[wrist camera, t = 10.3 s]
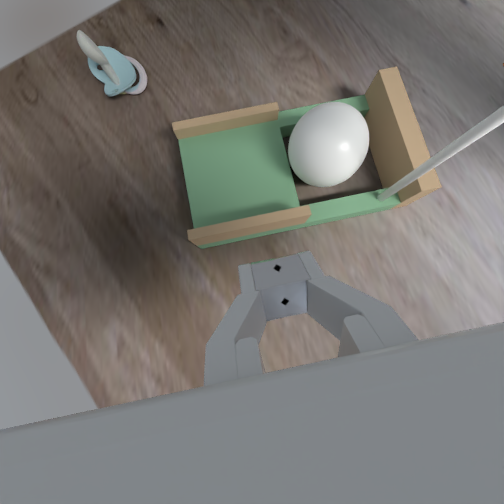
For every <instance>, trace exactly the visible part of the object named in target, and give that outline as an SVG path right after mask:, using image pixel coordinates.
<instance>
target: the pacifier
mask: <svg viewBox="0 0 504 504" xmlns="http://www.w3.org/2000/svg"><path fill="white" fill-rule="evenodd" d="M77 40H78V43H79V45H80V47H81V49H82V50H83V52H84V53H85V54H86V55H87V56H88V65H89V68H90V70H91V72H92V73H93V74H94V76H95V77H96V78H97V79H98V80H100V81H101V82H103V83H105V87H104V91H105V93H106V94H107V95H108V96H115V95H118V94H127V93H128V94H132V95H133V94H139V93H141V92H143V91H144V90H145V88H146V86H147V75H146V72H145V70H144V68H143V67H142V65H141V64H140V63H139V62H138V61H136V60H135V59H133V58H131V57H128V56H124V55H122V54H121V53H120V52H118V51H117V50H115V49H113V48H111V47H105V46H96V44H95V43H94V42H93V41H92V40H91V39H90V38H89V37H88V36H87V35H86V34H85V33H83V32H82V31H81V30H78V32H77ZM98 65H100V66H101V67H102V68H103V70H98V69H97V66H98ZM133 67H134V68H135V69H137V71H138V72H139V75H140V80H139V83H138V84H137V85H136V86H134V87H131V86H132V84H133V83H134V82H135V80H136V72H135V69H134V68H133Z"/></svg>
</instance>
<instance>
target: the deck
mask: <svg viewBox="0 0 504 504" xmlns="http://www.w3.org/2000/svg"><path fill="white" fill-rule="evenodd" d="M503 66H504V63H503ZM330 102H342V103H346V104H348V105H351V106H352V107H354V108H355V109H357V110H358V111H359V112H360V113H361V115H362V116H363V117H364V119H365V121H366V123H367V126H368V130H369V147H370V150H371V153H372V156H373V159H374V162H375V165H376V168H377V171H378V174H379V177H380V181H381V184H382V187H383V189H380V190H375V191H370V192H366V193H361V194H356V195H351V196H346V197H342V198H337V199H332V200H327V201H323V202H318V203H313V204H308V205H303V206H300V204H299V200H298V196H297V193H296V189H295V185H294V181H293V177H292V173H291V169H290V166H289V162H288V158H287V154H286V150H285V146H284V142H283V139H282V138H283V137H288V136H291V133H292V131H293V129H294V127H295V125H296V124H297V122H298V121H299V120H300V119H301V117H302V116H303V115H304V114H305V113H307V112H308V111H309V110H311V109H312V108H314V107H316V106H318V105H320V104H323V103H320V104H315V105H310V106H305V107H300V108H295V109H290V110H285V111H280V112H279V107H278V104H277V102H274V103H269V104H264V105H259V106H253V107H248V108H243V109H238V110H233V111H228V112H223V113H218V114H213V115H208V116H203V117H198V118H193V119H188V120H183V121H178V122H173V123H172V125H173V131H174V133H175V135H176V136H177V138H178V141H179V147H180V153H181V158H182V164H183V170H184V175H185V181H186V187H187V192H188V198H189V204H190V209H191V215H192V221H193V226H194V229H190V230H187V234H188V240H189V241H190V242H192V243H193V244H195V245H196V246H198V247H199V248H201V249H203V248H208V247H213V246H218V245H222V244H227V243H232V242H237V241H241V240H246V239H251V238H256V237H260V236H265V235H270V234H274V233H279V232H284V231H289V230H293V229H298V228H303V227H308V226H312V225H317V224H322V223H327V222H331V221H336V220H341V219H346V218H350V217H355V216H360V215H364V214H369V213H374V212H379V211H383V210H388V209H393V208H398V207H402V206H406V205H408V204H410V203H412V202H414V201H416V200H418V199H420V198H422V197H424V196H426V195H427V194H429V193H431V192H433V191H435V190H437V189H439V188H441V184H440V181H439V179H438V176H437V173H436V170H435V167H436V166H438V165H439V164H441V163H442V162H444V161H445V160H447V159H448V158H450V157H451V156H453V155H455V154H456V153H458V152H459V151H461V150H462V149H464V148H465V147H467V146H468V145H470V144H471V143H473V142H475V141H476V140H478V139H479V138H481V137H482V136H484V135H485V134H487V133H488V132H490V131H491V130H493V129H494V128H496V127H498V126H499V125H501V124H502V123H504V105H503V106H502V107H500V108H499V109H498V110H496V111H495V112H494V113H492V114H491V115H489V116H488V117H487V118H485V119H484V120H482V121H481V122H480V123H478V124H477V125H475V126H474V127H473V128H471V129H470V130H469V131H467V132H466V133H464V134H463V135H462V136H460V137H459V138H457V139H456V140H455V141H453V142H452V143H451V144H449V145H448V146H446V147H445V148H444V149H442V150H441V151H439V152H438V153H437V154H435V155H434V156H432V157H430V154H429V152H428V149H427V146H426V143H425V141H424V138H423V135H422V133H421V130H420V127H419V124H418V122H417V119H416V116H415V114H414V111H413V108H412V106H411V103H410V100H409V97H408V95H407V92H406V89H405V87H404V84H403V81H402V78H401V76H400V73H399V70H398V68H397V67H392V68H387V69H382V70H379V71H378V73H377V74H376V76H375V78H374V80H373V81H372V83H371V85H370V86H369V88H368V90H367V92H366V93H365V95H360V96H355V97H350V98H345V99H340V100H335V101H330ZM325 103H327V102H325Z"/></svg>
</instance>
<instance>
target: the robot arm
mask: <svg viewBox="0 0 504 504" xmlns="http://www.w3.org/2000/svg"><path fill="white" fill-rule="evenodd" d="M238 270H239V279H240V287H241V294H240V295H237V297H236V298H235V300H234V302H233V303H232V305H231V306H230V308H229V310H228V311H227V313H226V314H225V316H224V317H223V319H222V321H221V322H220V324H219V325H218V327H217V329H216V330H215V332H214V333H213V335H212V336H211V338H210V340H209V341H208V343H207V344H206V353H205V372H204V386H203V387H198V388H194V389H189V390H184V391H179V392H175V393H170V394H165V395H161V396H156V397H151V398H147V399H142V400H137V401H133V402H128V403H123V404H119V405H114V406H109V407H105V408H100V409H95V410H91V411H86V412H81V413H76V414H72V415H67V416H63V417H58V418H53V419H48V420H44V421H39V422H34V423H29V424H25V425H20V426H15V427H11V428H6V429H1V430H0V504H504V322H502V323H497V324H493V325H488V326H483V327H479V328H474V329H469V330H465V331H460V332H455V333H451V334H446V335H441V336H437V337H432V338H427V339H423V340H418V339H417V337H416V336H415V335H414V334H413V333H412V331H411V330H410V329H409V328H408V327H407V325H406V324H405V323H404V322H403V320H402V319H401V318H400V317H399V316H398V314H397V313H396V312H395V311H394V310H393V308H392V307H391V306H389V305H387V304H385V303H383V302H381V301H379V300H377V299H375V298H373V297H371V296H369V295H367V294H365V293H363V292H361V291H359V290H357V289H355V288H353V287H351V286H349V285H347V284H345V283H343V282H341V281H339V280H337V279H335V278H333V277H331V276H325V275H324V273H323V271H322V270H321V268H320V266H319V265H318V263H317V262H316V260H315V258H314V257H313V255H312V253H311V252H310V251H305V252H301V253H297V254H293V255H288V256H284V257H279V258H275V259H269V260H264V261H258V262H253V263H251V264H250V263H248V264H243V265H239V266H238ZM303 313H308V314H309V315H310V316H311V317H312V318H313V319H315V320H316V321H317V322H318V323H319V324H321V325H322V326H323V327H324V328H325V329H327V330H328V331H329V332H330V333H331V334H333V335H334V336H335V337H336V338H337V339H339V340H340V346H339V352H338V358H333V359H329V360H324V361H319V362H315V363H310V364H306V365H301V366H296V367H292V368H287V369H282V370H278V371H273V372H268V373H266V372H265V368H264V364H263V361H262V357H261V353H260V349H259V346H258V345H259V342H260V339H261V337H262V334H263V331H264V328H265V326H266V323H267V322H266V321H270V320H274V319H278V318H283V317H287V316H292V315H298V314H303Z"/></svg>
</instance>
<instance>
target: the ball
mask: <svg viewBox="0 0 504 504" xmlns="http://www.w3.org/2000/svg"><path fill="white" fill-rule="evenodd" d="M368 147H369V130H368V126H367V123H366V121H365V119H364V117H363V116H362V115H361V113H360V112H359V111H358V110H357V109H355V108H354V107H352V106H351V105H348V104H346V103H342V102H327V103H323V104H320V105H318V106H316V107H314V108H312V109H311V110H309V111H308V112H307V113H305V114H304V115H303V116H302V117H301V119H300V120H299V121H298V122H297V124H296V125H295V127H294V129H293V131H292V133H291V136H290V140H289V145H288V156H289V162H290V165H291V167H292V169H293V171H294V172H295V174H296V175H297V176H298V177H299V178H300V179H301V180H302V181H304V182H305V183H307V184H309V185H312V186H316V187H330V186H334V185H337V184H339V183H342V182H344V181H345V180H347V179H348V178H350V177H351V176H352V175H353V174H354V173H355V172H356V171H357V170H358V169H359V167H360V166H361V164H362V163H363V161H364V159H365V157H366V154H367V151H368Z"/></svg>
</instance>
